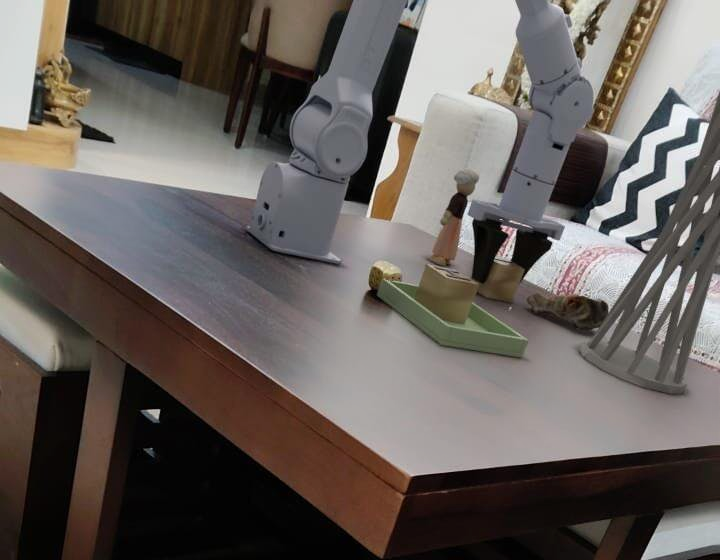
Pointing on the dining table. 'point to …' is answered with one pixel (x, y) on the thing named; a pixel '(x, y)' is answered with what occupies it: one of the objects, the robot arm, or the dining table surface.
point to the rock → (571, 309)
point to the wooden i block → (501, 280)
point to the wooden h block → (446, 293)
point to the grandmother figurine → (454, 218)
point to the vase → (636, 362)
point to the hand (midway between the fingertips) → (493, 283)
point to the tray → (454, 323)
